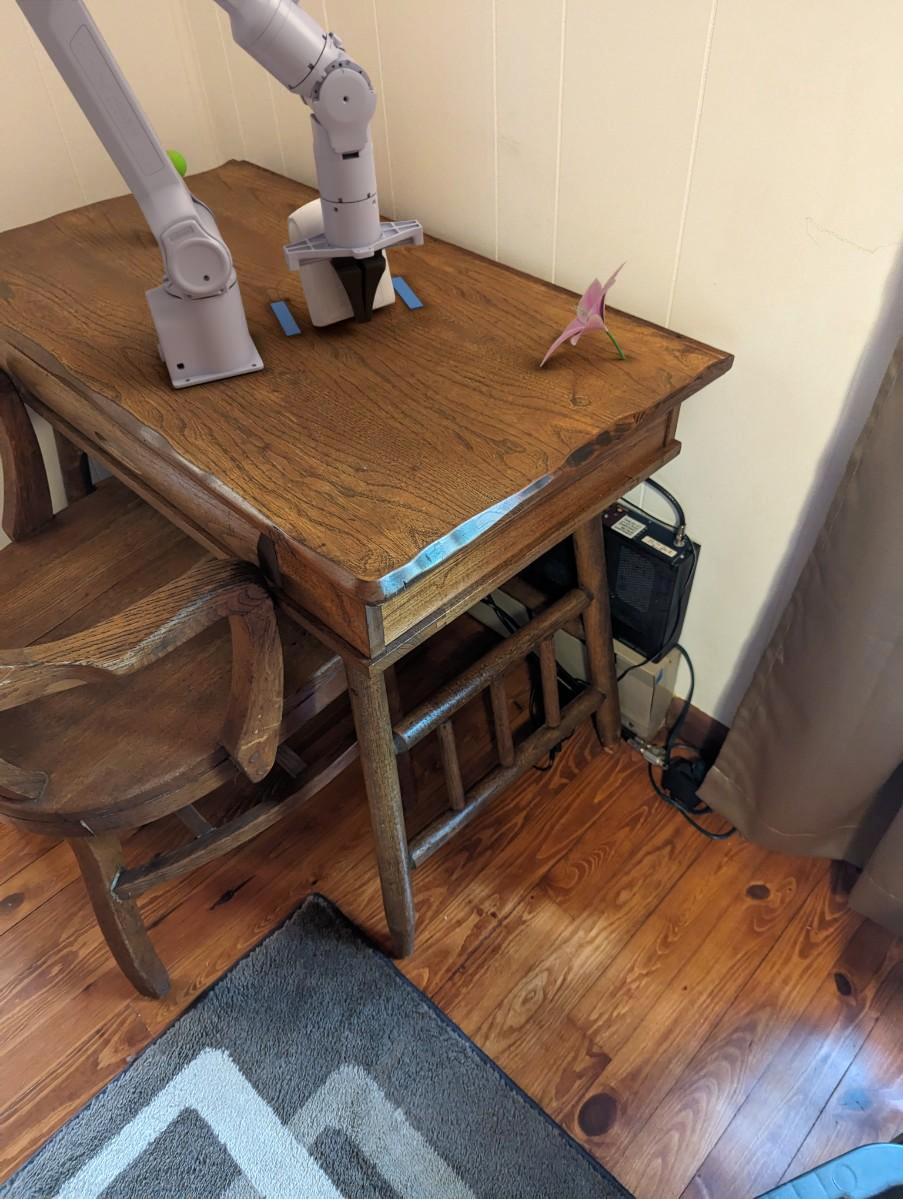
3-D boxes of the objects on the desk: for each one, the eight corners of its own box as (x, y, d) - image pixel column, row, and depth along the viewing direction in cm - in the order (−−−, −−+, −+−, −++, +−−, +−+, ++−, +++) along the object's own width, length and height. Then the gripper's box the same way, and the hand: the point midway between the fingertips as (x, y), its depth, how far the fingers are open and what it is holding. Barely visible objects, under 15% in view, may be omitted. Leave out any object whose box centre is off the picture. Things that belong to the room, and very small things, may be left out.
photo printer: (385, 298, 102) (359, 184, 96) (402, 302, 99) (376, 184, 92) (307, 325, 98) (274, 209, 92) (322, 330, 95) (289, 209, 89)
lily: (603, 325, 98) (565, 252, 93) (687, 321, 89) (651, 240, 84) (541, 397, 95) (498, 326, 90) (622, 401, 86) (580, 323, 80)
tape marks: (287, 336, 97) (287, 335, 97) (270, 304, 102) (270, 303, 102) (423, 306, 100) (423, 305, 100) (400, 277, 106) (400, 276, 106)
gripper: (286, 220, 82) (308, 350, 92) (430, 193, 85) (436, 321, 95) (269, 193, 86) (292, 320, 96) (406, 168, 90) (415, 293, 100)
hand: (362, 318), depth 96 cm, fingers closed
